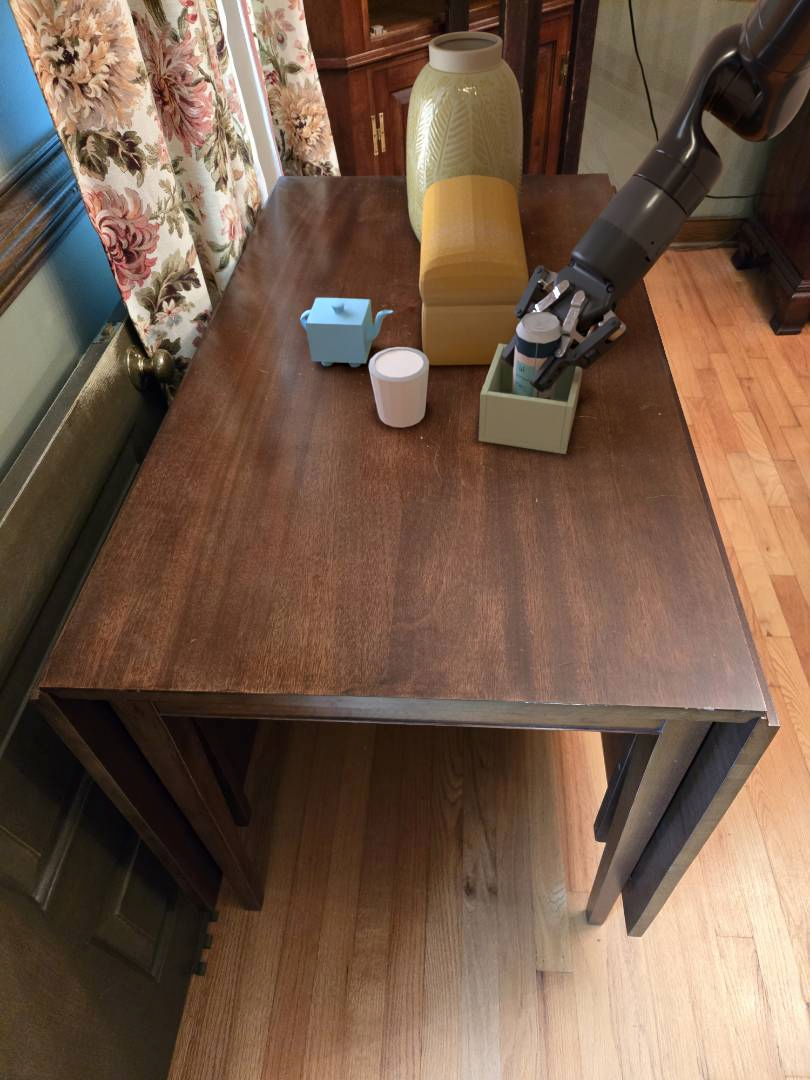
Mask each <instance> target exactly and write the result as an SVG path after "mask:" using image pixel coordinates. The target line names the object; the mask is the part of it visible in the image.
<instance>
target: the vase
mask: <svg viewBox="0 0 810 1080" xmlns="http://www.w3.org/2000/svg"><path fill="white" fill-rule="evenodd" d="M503 42H504V41H503V38H502V37H501V36H499V35H497V34H494V33H491V32H485V31H476V30H475V31H474V30H473V31H471V30H470V31H469V30H468V31H467V30H466V31H455V32H448V33H445V34H441V35H437V36H435V37H434V38H432V39H431V40H430V41H429V44H428V50H429V53H428V54H429V55H428V56H429V61H427V62H426V64H425V65H423V67H422V68H421V70H420V71H419V72H418V75H417V76H416V78H415V80H414V82H413V85H412V90H411V92H410V97H409V101H408V102H409V103H408V112H407V120H406V121H407V122H406V134H405V135H406V137H405V138H406V139H405V140H406V141H405V182H406V184H405V185H406V186H405V187H406V200H407V211H408V218H409V222H410V226H411V228H412V231H413V233H414V234H415V236H416V238H417V240H418V242H419V243H420V245H421V239H422V219H423V201H424V196H425V193H426V191H427V189H428V188H429V187H430V186H431V185H432V184H434V183H435V182H438V181H440V180H444V179H448V178H453V177H458V176H465V175H480V176H487V177H495V178H500V179H503V180H506V181H507V182H509V183H510V184H511V185H512V186H513V188H514V189H515V192H516V196H517V203H518V209H519V210H520V206H521V195H522V185H523V168H524V167H523V164H524V121H523V118H524V117H523V105H522V97H521V90H520V85H519V83H518V80H517V77H516V75H515V74H514V71H513V70H512V68H511V67H510V65H509V63H508V62H506V61H505V60H504V59H503V57H502V56H503V45H504V44H503Z"/></svg>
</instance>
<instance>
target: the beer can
mask: <svg viewBox="0 0 810 1080" xmlns="http://www.w3.org/2000/svg"><path fill="white" fill-rule="evenodd" d="M560 323H561V322H560ZM560 323H559V321H558V319H557V317H556V316H554V315H552V314H550V313H548V312H533V313H529V314H526V315H525V316H524V317H523V318H522V319H521V322H520V323H519V324H518V326H517V328H516V340H515V354H514V368H513V382H512V394H513V395H520V396H527V397H534V398H541V399H549V400H554V396H555V388H556V382H554V384H553V385H552V387H550V388H549V389H546V390H545V391H543V392H540V391H538V390H537V389H535V388H534V387H533V386H532V385H531V384H530V380H531V378H532V377H533V376H534V375H535V373H536V372H537V371H538V369H539V368H540V367H541V366H542V364H543V363H544V362H545V361H546V359H547V358H548V357H549V355H550V354H551V355H553V356H554V355H555V354H554V352H555V350H556V347H557V345H558V343H559V341H560V338H561V329H562V325H561V324H560Z"/></svg>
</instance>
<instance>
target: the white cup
mask: <svg viewBox="0 0 810 1080" xmlns="http://www.w3.org/2000/svg"><path fill="white" fill-rule="evenodd" d="M429 368H430V365H429V361H428V358H427V356H426V355H425V354H424V353H423V351H421V350H419V349H417V348H413V347H410V346H395V347H388V348H385V349H382V350H380V351H378V352H377V353H375V354H374V355H373V356H372V357H371V358H370V360H369V362H368V370H369V376H370V380H371V385H372V391H373V394H374V399H375V404H376V405H375V406H376V410H377V415H378V417H379V420H380V421H381V422H382V423H384V424H385V425H387V426H389V427H392V428H407V427H412V426H414V425H416V424H419V423H420V422H421V421H422V420H423V419H424V417H425V413H426V404H427V396H428V395H427V393H428V381H429Z"/></svg>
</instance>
